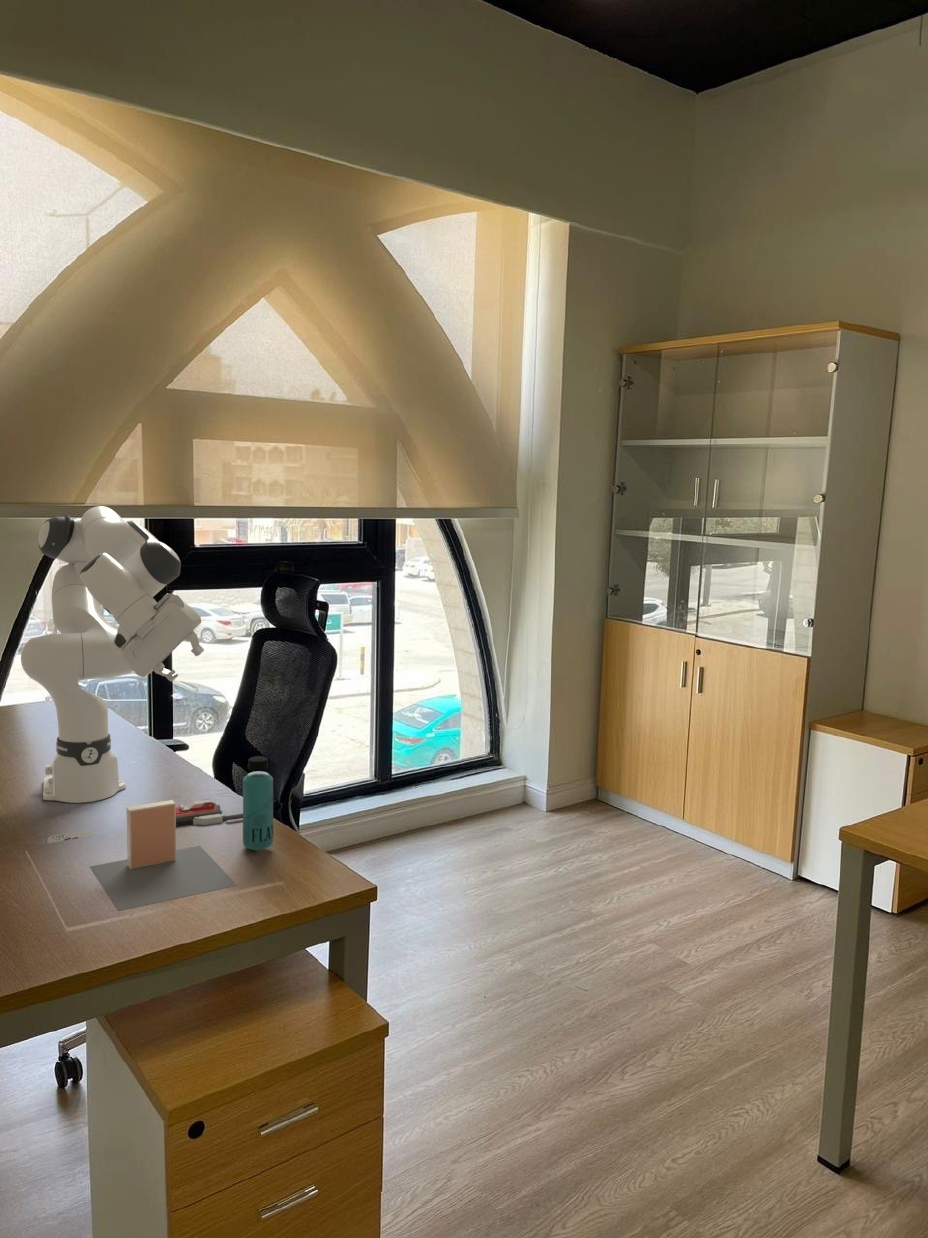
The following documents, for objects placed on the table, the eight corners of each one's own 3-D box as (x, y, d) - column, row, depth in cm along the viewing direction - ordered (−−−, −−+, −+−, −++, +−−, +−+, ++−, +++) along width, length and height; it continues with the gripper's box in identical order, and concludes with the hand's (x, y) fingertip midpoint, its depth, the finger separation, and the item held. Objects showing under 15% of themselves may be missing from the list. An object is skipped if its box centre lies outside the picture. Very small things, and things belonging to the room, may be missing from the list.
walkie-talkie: (167, 834, 210) (257, 821, 220) (166, 815, 209) (257, 802, 219) (158, 821, 218) (245, 808, 227) (158, 802, 217) (245, 790, 227)
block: (127, 865, 191) (126, 807, 190) (173, 856, 196) (172, 800, 194) (130, 869, 190) (129, 811, 188) (176, 860, 194) (175, 803, 193)
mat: (89, 868, 190) (89, 866, 190) (199, 848, 202) (199, 845, 202) (118, 913, 172) (118, 911, 172) (237, 887, 184) (237, 885, 184)
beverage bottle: (248, 859, 198) (248, 764, 195) (237, 847, 203) (237, 755, 200) (278, 853, 201) (279, 760, 198) (267, 842, 207) (267, 751, 204)
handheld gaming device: (92, 830, 209) (93, 857, 195) (92, 833, 209) (93, 860, 195) (47, 834, 206) (45, 862, 192) (47, 838, 206) (46, 865, 192)
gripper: (178, 584, 204) (224, 632, 205) (125, 640, 212) (168, 686, 213) (162, 593, 198) (209, 643, 199) (107, 650, 206) (152, 698, 207)
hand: (187, 666), depth 206 cm, fingers open, 8 cm apart
